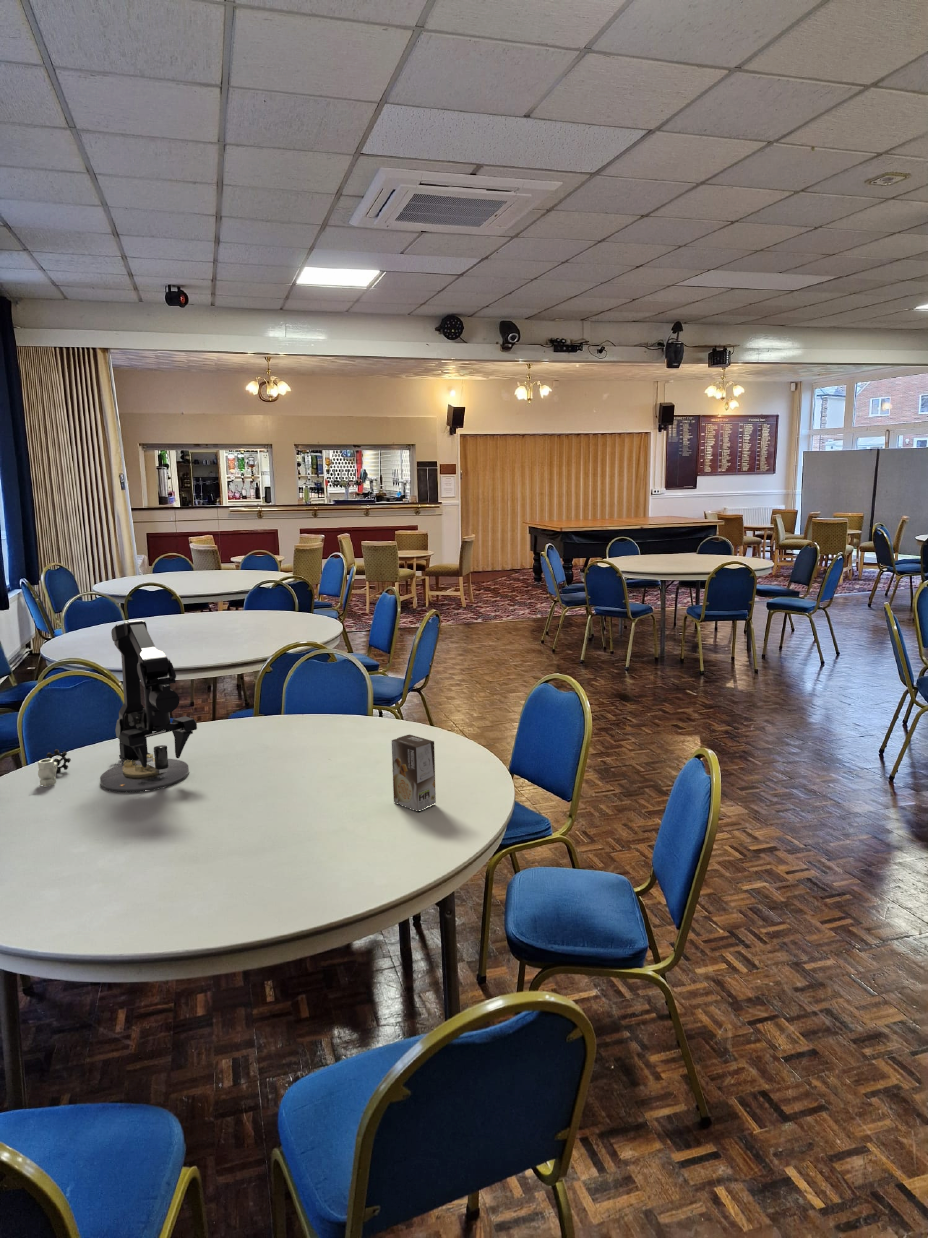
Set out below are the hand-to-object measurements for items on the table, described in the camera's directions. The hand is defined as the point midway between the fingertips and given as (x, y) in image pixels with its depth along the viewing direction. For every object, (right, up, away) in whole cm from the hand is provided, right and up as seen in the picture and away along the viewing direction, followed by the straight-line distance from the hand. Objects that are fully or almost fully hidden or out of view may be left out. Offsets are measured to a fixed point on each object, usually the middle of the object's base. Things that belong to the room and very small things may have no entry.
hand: (161, 762), depth 204 cm
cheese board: (-5, -3, +5) cm, 8 cm away
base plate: (-7, -5, +7) cm, 11 cm away
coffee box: (+67, -8, -14) cm, 69 cm away
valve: (-32, -6, +6) cm, 33 cm away
